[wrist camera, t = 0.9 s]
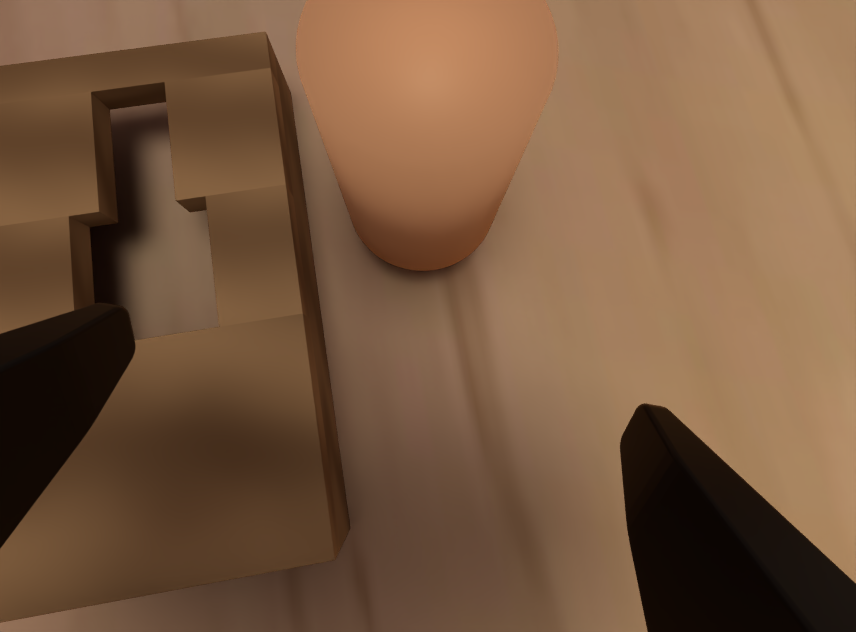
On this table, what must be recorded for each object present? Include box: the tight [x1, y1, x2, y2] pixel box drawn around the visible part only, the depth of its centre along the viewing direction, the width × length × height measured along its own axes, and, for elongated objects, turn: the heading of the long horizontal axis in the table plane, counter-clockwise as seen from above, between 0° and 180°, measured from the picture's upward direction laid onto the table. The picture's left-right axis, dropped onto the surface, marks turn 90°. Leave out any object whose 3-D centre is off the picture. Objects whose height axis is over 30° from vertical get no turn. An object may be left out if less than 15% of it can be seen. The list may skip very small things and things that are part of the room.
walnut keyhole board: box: [0, 32, 350, 623], centre depth 20 cm, size 20×11×4 cm, turn 10°
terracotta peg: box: [296, 0, 558, 271], centre depth 17 cm, size 6×6×12 cm
